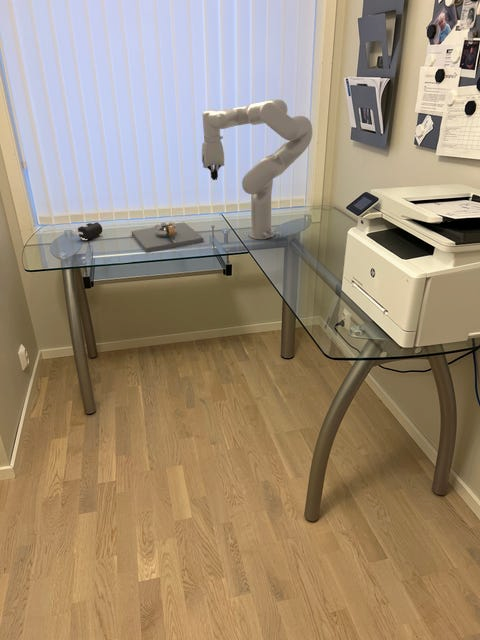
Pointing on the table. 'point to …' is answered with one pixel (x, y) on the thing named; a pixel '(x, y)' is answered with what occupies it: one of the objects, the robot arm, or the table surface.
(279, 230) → the table surface
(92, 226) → the end cap
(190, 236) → the grey square base plate
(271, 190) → the robot arm
